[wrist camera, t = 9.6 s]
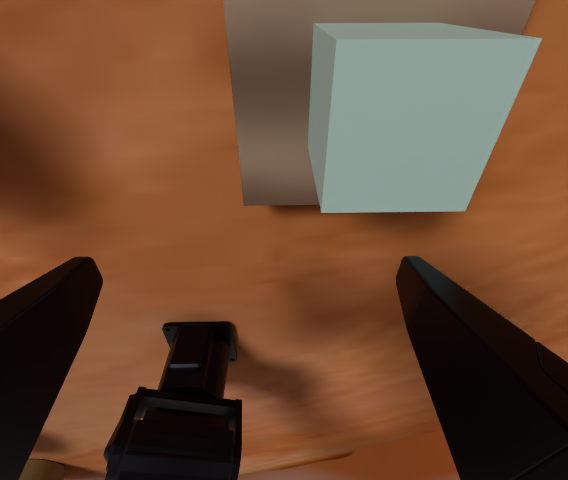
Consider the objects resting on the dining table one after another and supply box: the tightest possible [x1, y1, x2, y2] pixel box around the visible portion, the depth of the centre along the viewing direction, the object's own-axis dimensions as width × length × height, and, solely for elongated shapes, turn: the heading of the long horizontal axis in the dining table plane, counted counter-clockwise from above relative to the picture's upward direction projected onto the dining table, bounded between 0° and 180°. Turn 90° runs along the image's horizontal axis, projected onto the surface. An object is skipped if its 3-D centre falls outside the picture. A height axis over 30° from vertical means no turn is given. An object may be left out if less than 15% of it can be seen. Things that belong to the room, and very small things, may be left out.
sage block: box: [308, 23, 542, 213], centre depth 11 cm, size 5×5×6 cm
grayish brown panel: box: [223, 0, 535, 206], centre depth 15 cm, size 12×12×3 cm
